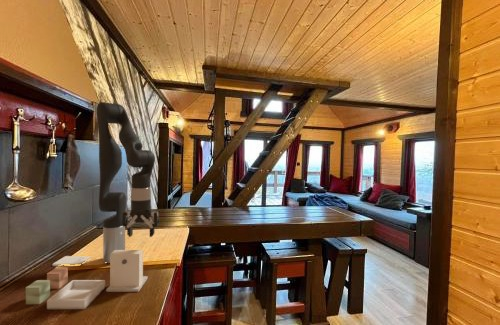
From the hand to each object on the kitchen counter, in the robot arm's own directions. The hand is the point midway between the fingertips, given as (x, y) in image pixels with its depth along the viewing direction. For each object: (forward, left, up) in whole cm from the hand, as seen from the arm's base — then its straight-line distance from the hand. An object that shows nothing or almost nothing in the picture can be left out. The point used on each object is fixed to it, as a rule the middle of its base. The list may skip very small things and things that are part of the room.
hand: (140, 236), depth 97 cm
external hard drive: (-14, -37, -19) cm, 44 cm away
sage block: (+14, -30, -18) cm, 38 cm away
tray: (+13, -17, -18) cm, 28 cm away
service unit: (+5, -3, -18) cm, 19 cm away
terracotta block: (+5, -30, -18) cm, 35 cm away
